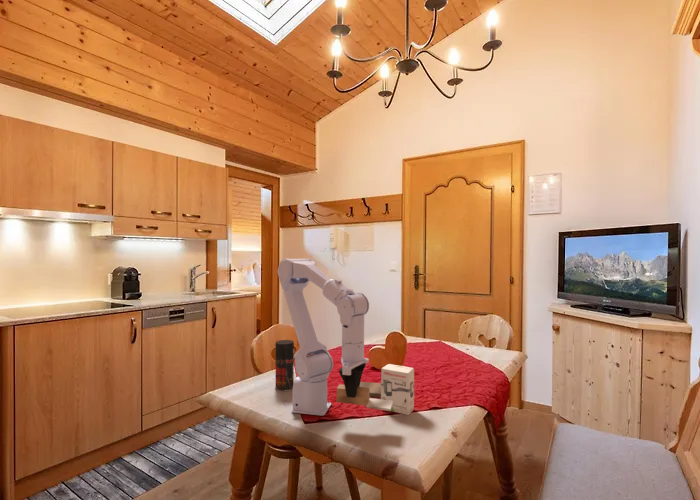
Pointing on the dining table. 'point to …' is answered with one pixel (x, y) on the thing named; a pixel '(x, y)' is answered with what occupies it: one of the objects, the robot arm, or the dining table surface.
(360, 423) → the dining table surface
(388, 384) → the ink box
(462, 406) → the dining table surface
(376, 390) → the board
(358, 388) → the blocks
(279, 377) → the deodorant
